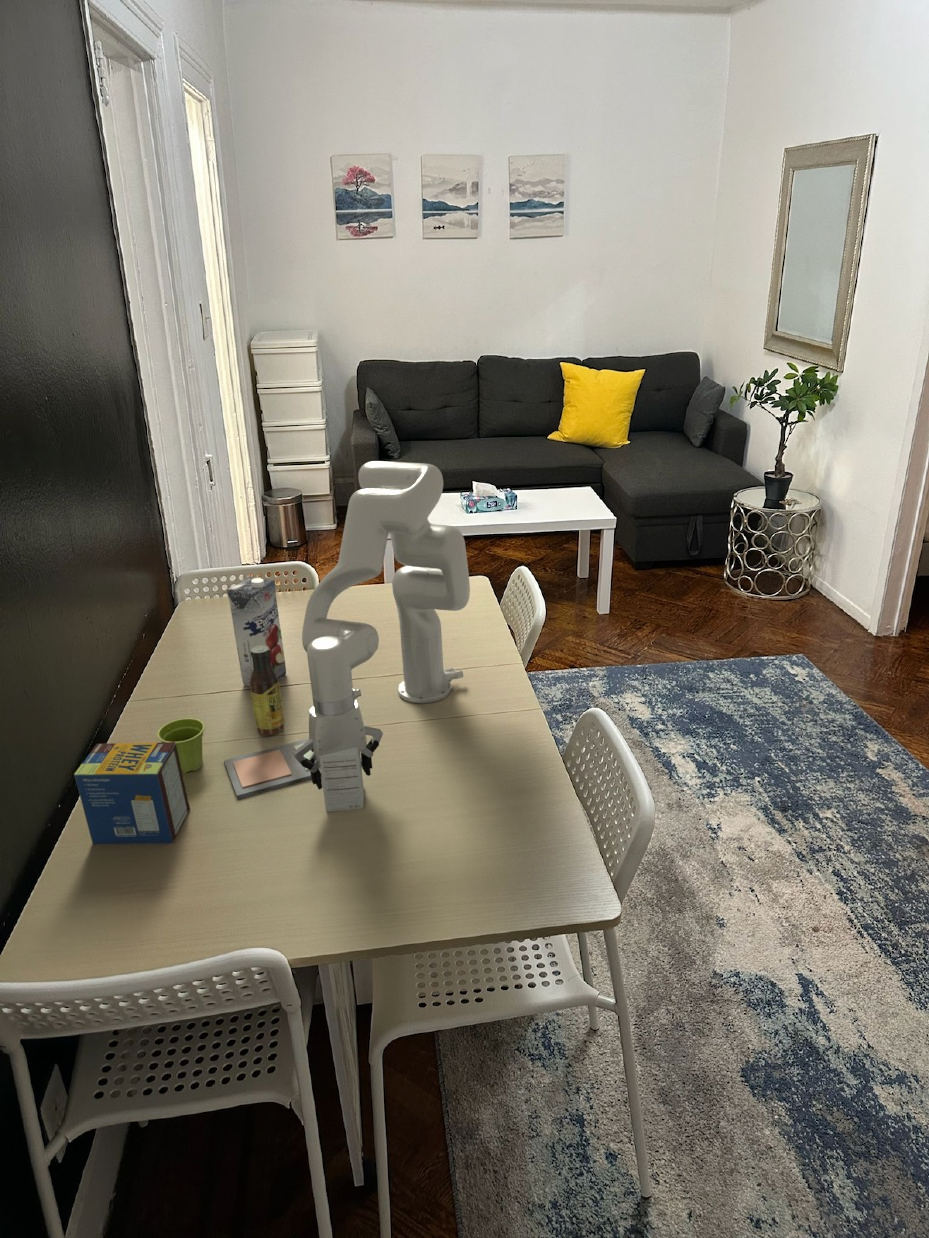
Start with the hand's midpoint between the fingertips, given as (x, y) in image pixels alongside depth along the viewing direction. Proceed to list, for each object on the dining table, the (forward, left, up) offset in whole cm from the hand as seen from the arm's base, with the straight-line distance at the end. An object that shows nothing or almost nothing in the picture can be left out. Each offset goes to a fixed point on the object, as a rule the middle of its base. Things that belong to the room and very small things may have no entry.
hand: (342, 778), depth 171 cm
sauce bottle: (+7, -33, -5) cm, 34 cm away
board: (+6, -17, -5) cm, 19 cm away
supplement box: (0, 0, -5) cm, 5 cm away
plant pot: (+26, -27, -5) cm, 38 cm away
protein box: (+37, -10, -5) cm, 39 cm away
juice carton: (+3, -57, -5) cm, 57 cm away
